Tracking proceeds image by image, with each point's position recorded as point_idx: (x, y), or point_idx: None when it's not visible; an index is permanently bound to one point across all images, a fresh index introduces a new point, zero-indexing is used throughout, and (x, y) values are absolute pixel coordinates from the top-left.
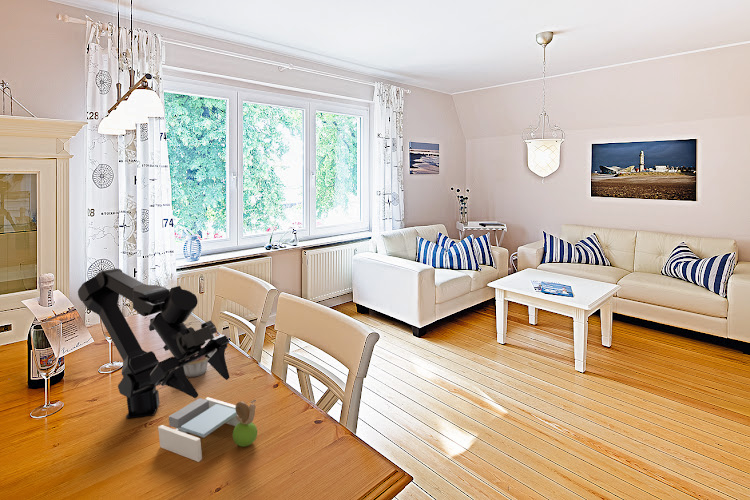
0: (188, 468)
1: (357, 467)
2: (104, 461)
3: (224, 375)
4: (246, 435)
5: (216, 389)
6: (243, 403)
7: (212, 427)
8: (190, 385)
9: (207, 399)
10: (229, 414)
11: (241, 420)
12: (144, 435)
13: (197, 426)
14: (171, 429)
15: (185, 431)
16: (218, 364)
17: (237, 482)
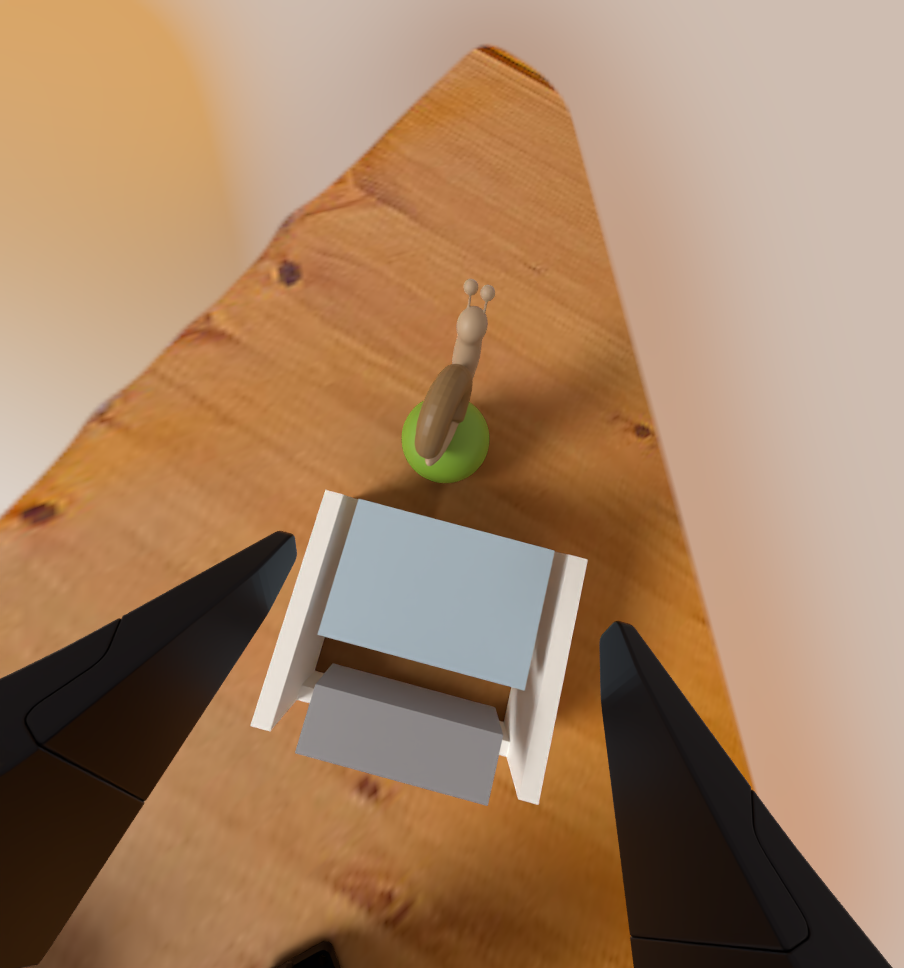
0: (588, 565)
1: (483, 126)
2: None
3: (273, 580)
4: (479, 411)
5: None
6: (451, 383)
7: (502, 541)
8: (694, 742)
9: (273, 713)
10: (397, 520)
11: (453, 430)
12: (464, 860)
13: (509, 611)
14: (541, 723)
15: None
16: (149, 712)
17: (606, 393)
